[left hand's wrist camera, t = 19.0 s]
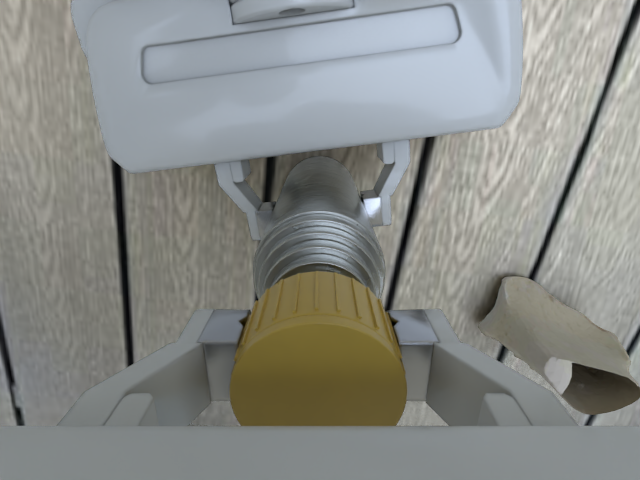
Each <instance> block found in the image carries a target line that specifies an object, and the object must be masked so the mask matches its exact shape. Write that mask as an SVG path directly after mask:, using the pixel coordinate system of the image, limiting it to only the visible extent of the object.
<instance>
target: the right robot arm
mask: <svg viewBox="0 0 640 480" xmlns="http://www.w3.org/2000/svg"><path fill="white" fill-rule="evenodd" d="M71 15H72V19H73V22H74V26H75V29H76V32H77V35H78V38H79V41H80V44H81V47H82V50H83V52H84V54H85V56H86V57H87V59H88V66H89V73H90V79H91V85H92V91H93V97H94V101H95V106H96V111H97V116H98V120H99V124H100V128H101V132H102V136H103V140H104V143H105V147H106V150H107V152H108V154H109V156H110V157H111V158H112V159H113V160H114V161H115V162H117V163H118V164H119V165H120V166H121V167H122V168H124V169H125V170H126V171H127V172H129V173H134V174H135V173H143V172H151V171H159V170H167V169H175V168H183V167H191V166H199V165H207V164H214V166H215V170H216V175H217V179H218V184H219V186H220V187H221V188H222V189H223V190H224V191H225V193H226V194H227V195H228V196H229V197H230V198H231V199H232V200H233V201H234V203H235V204H236V205H237V206H238V207H239V208H240V209H241V210H242V211H243V213H246V215H247V220H248V224H249V229H250V234H251V238H252V240H261V239H262V236H263V234H264V231H265V229H266V227H267V224H268V222H269V220H270V217H271V215H272V212H273V210H274V208H275V205H276V202H266V203H262V201H261V200H260V199H259V197H258V196H257V195H256V194H255V192H254V191H253V190H252V189H251V187H250V186H249V185H248V183H247V182H246V181H245V178H246V177H247V176H248V175H249V174H250V173H251V169H250V164H249V159H255V158H263V157H271V156H279V155H287V154H295V153H303V152H311V151H319V150H327V149H335V148H344V147H352V146H360V145H368V144H377V156H378V157H379V159H380V160H381V161H382V162H383V163H385V165H384V167H383V170H382V172H381V174H380V176H379V178H378V180H377V182H376V185H375V187H374V190H367V191H360V198H361V200H362V203H363V205H364V208H365V210H366V213H367V215H368V218H369V220H370V223H371V225H372V227H376V226H385V225H391V201H390V196H391V195H393V193H394V192H395V190H396V188H397V186H398V184H399V182H400V180H401V178H402V176H403V175H404V173H405V171H406V169H407V167H408V165H409V163H410V139H416V138H424V137H432V136H440V135H448V134H456V133H464V132H472V131H480V130H487V129H495V128H499V127H501V126H502V125H503V124H504V123H505V121H506V120H507V119H508V118H509V116H510V115H511V113H512V112H513V111H514V109H515V108H516V106H517V105H518V102H519V98H520V93H521V83H522V64H523V23H522V3H521V0H72V1H71Z"/></svg>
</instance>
